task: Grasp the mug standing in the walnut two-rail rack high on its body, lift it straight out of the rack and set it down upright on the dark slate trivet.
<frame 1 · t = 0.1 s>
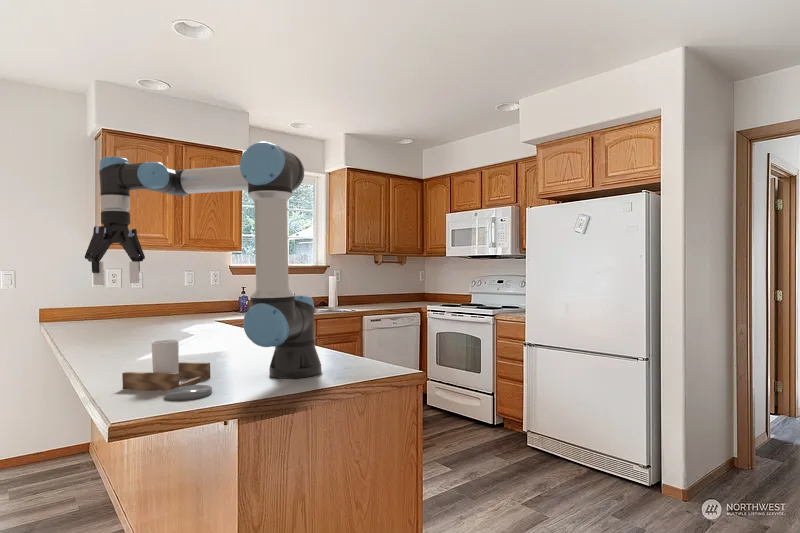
hand: (117, 284, 149), 28 cm above the table, fingers open, 13 cm apart
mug: (168, 384, 142), resting in rack
rack: (168, 383, 142), on the table
trivet: (188, 394, 129), on the table
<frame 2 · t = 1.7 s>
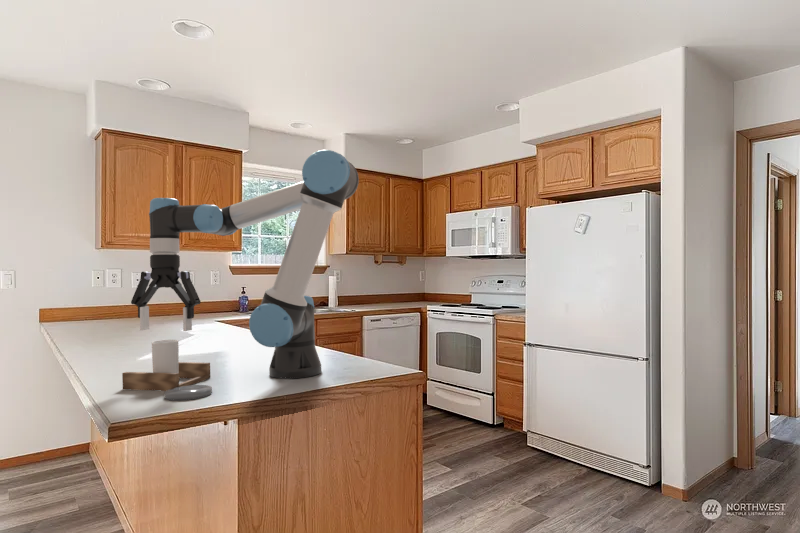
hand: (165, 330, 142), 15 cm above the table, fingers open, 13 cm apart
nothing on the table moved.
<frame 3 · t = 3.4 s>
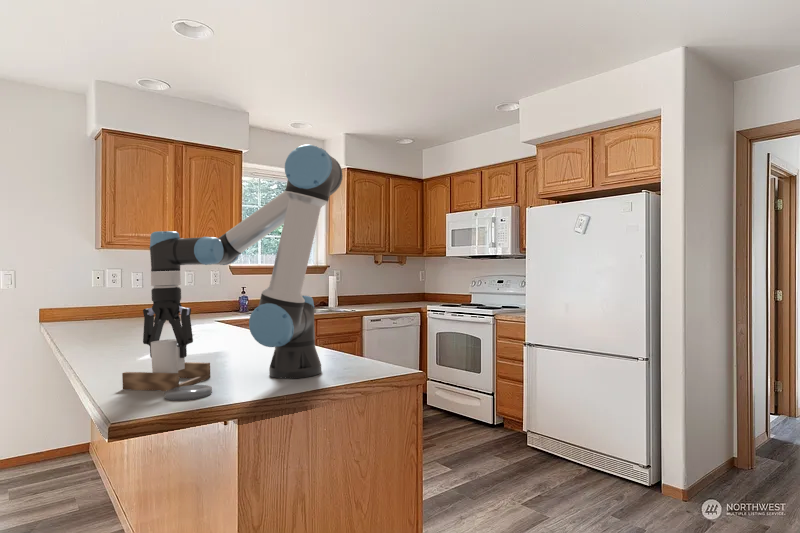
hand: (168, 369, 142), 4 cm above the table, fingers closed on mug, 7 cm apart
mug: (168, 383, 142), resting in rack, touching gripper
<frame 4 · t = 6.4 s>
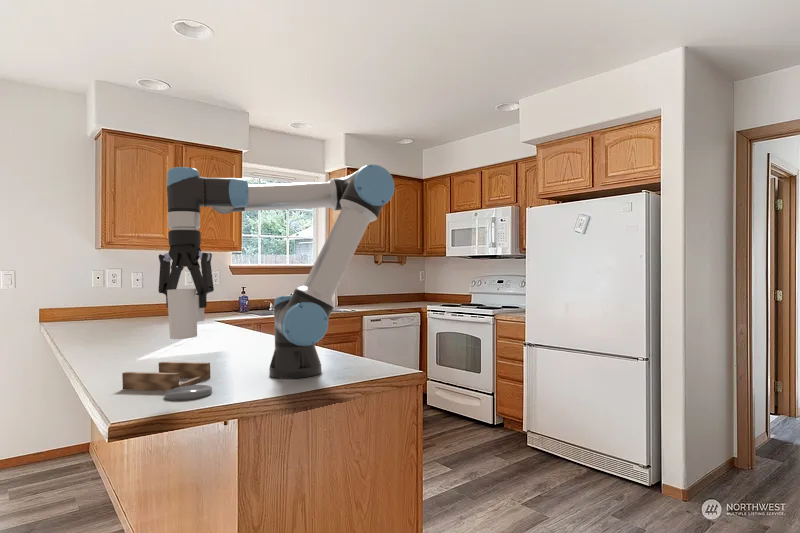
hand: (186, 321, 129), 19 cm above the table, fingers closed on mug, 7 cm apart
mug: (186, 337, 129), point 15 cm above the table, touching gripper
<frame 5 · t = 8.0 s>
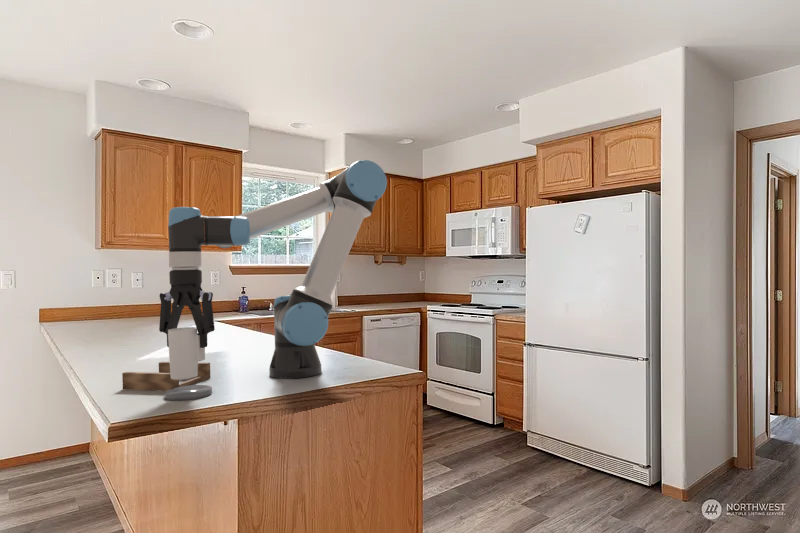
hand: (187, 360, 128), 9 cm above the table, fingers closed on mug, 7 cm apart
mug: (186, 376, 129), point 5 cm above the table, touching gripper
when the fingers open (6 cm above the table, at t = 9.3 s): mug drops 1 cm, resting on trivet.
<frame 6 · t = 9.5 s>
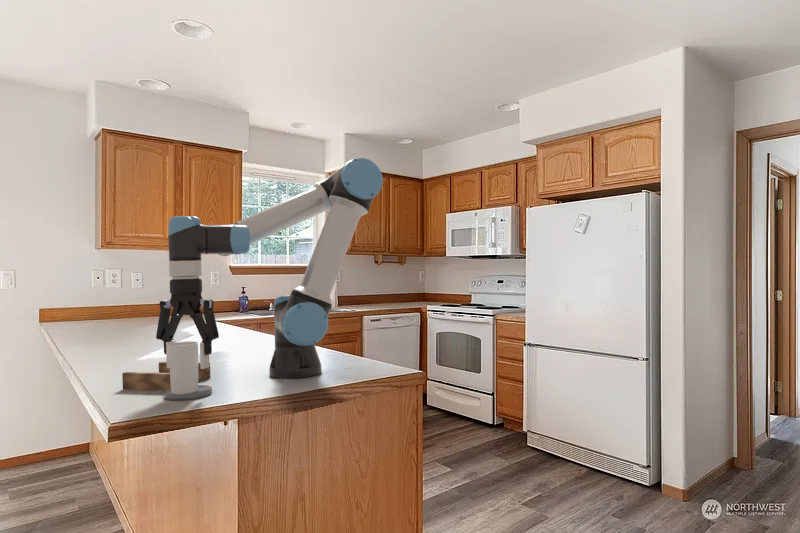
hand: (188, 367, 129), 7 cm above the table, fingers open, 9 cm apart
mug: (187, 390, 129), point 1 cm above the table, touching trivet
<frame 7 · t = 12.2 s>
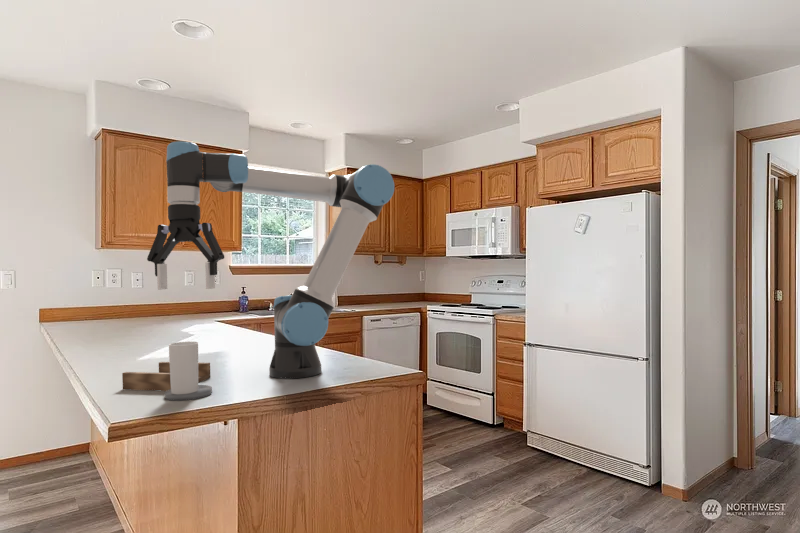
hand: (186, 289, 129), 27 cm above the table, fingers open, 13 cm apart
nothing on the table moved.
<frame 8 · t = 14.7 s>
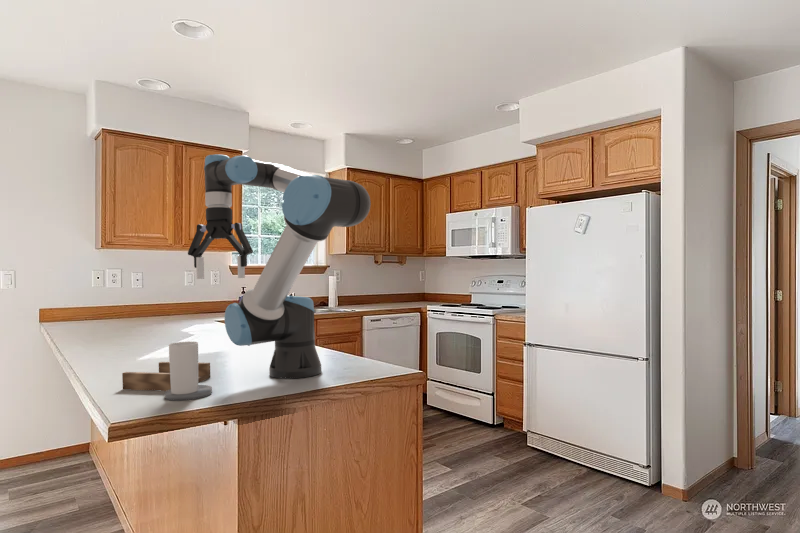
hand: (220, 278, 153), 29 cm above the table, fingers open, 13 cm apart
nothing on the table moved.
at the end: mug 0.5 cm from the trivet (horizontally); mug tilted 0°; the gripper is holding nothing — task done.
